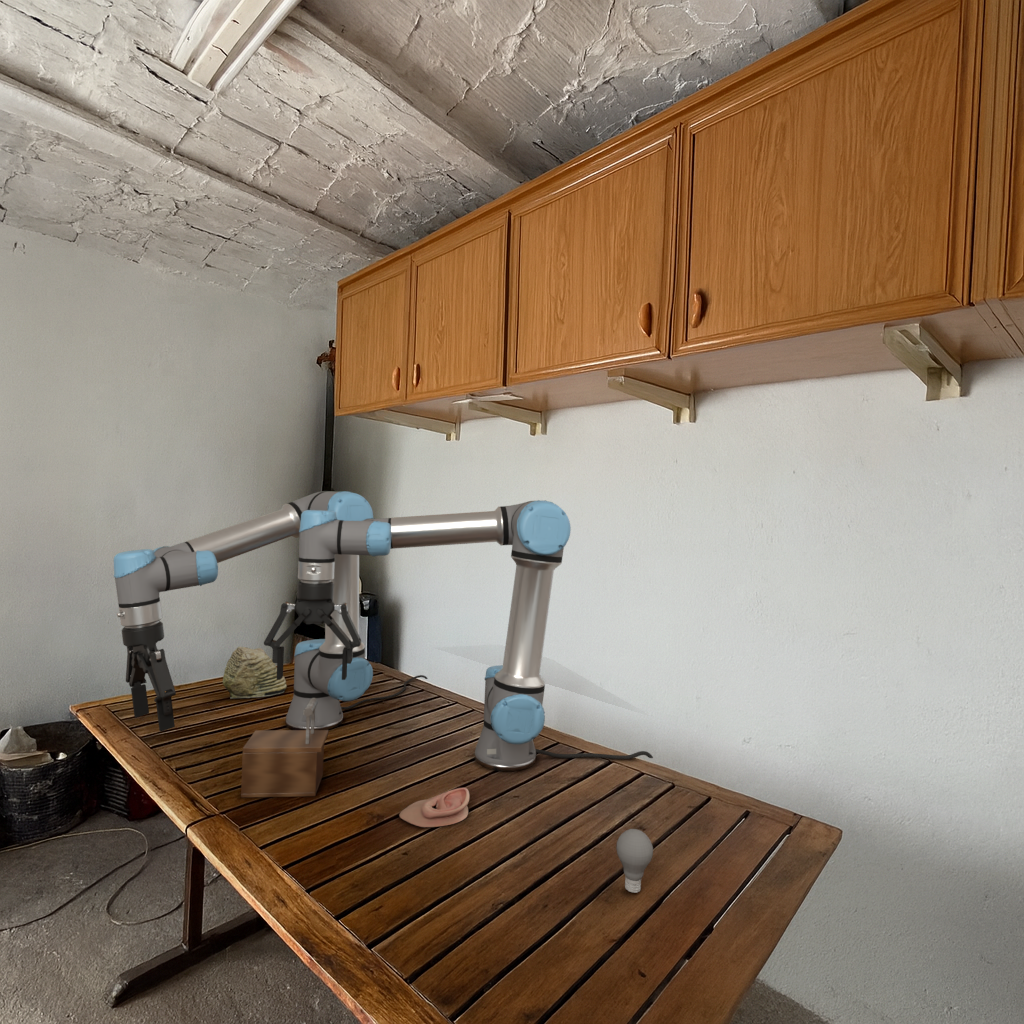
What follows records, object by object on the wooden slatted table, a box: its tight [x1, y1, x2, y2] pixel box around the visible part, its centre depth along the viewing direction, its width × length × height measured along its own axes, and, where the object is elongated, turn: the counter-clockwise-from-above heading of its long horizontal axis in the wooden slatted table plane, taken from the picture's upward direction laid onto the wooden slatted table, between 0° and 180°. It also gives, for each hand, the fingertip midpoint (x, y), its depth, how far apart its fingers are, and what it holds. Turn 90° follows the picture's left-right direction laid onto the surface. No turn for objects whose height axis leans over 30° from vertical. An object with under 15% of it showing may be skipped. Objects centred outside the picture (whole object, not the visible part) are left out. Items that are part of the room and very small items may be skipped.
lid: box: [242, 698, 329, 754], centre depth 138 cm, size 16×10×9 cm, turn 98°
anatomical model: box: [398, 787, 471, 828], centre depth 128 cm, size 13×4×12 cm
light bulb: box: [615, 828, 654, 894], centre depth 106 cm, size 6×6×10 cm
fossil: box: [222, 646, 288, 699], centre depth 198 cm, size 9×18×15 cm, turn 132°
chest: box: [240, 745, 325, 799], centre depth 138 cm, size 15×10×9 cm
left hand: (154, 722), depth 134 cm, fingers open, 13 cm apart
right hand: (312, 678), depth 138 cm, fingers open, 13 cm apart
